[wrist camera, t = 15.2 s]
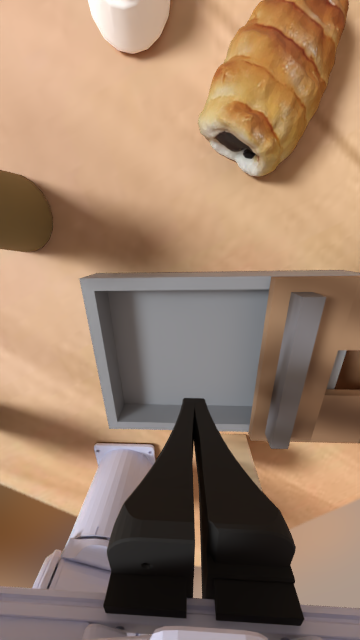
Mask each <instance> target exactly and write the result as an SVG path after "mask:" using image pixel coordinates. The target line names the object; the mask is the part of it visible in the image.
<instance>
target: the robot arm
mask: <svg viewBox="0 0 360 640" xmlns="http://www.w3.org/2000/svg"><path fill="white" fill-rule="evenodd" d="M193 444H194V446H195V455H196V464H197V473H198V483H199V505H200V535H201V569H202V599H199V598H193V578H194V552H195V529H194V499H193V468H192V459H193ZM94 451H95V455H96V459H97V463H98V469H97V471H96V473H95V476H94V478H93V481H92V483H91V486H90V488H89V491H88V493H87V496H86V498H85V500H84V503H83V505H82V508H81V510H80V513H79V515H78V518H77V520H76V522H75V525H74V528H73V530H72V532H71V535H70V537H69V539H68V541H67V543H66V545H65V547H64V550H63V552H62V554H61V551H60V550H55V551H54V552H53V554H51V555H49V556H48V557H47V558H46V559H45V561H44V563H43V565H42V568H41V570H40V572H39V574H38V576H37V579H36V580H35V583H34V585H33V587H32V588H20V587H4V586H0V640H360V608H346V607H328V606H313V605H300V603H299V600H298V597H297V593H296V590H295V587H294V584H293V583H295V579H294V575H293V572H292V569H291V566H290V564H291V561H292V558H293V555H294V553H295V544H294V541H293V538H292V535H291V533H290V531H289V528H288V526H287V524H286V522H285V520H284V518H283V516H282V514H281V512H280V510H279V509H278V508H277V507H276V506H275V505H274V504H273V503H272V502H271V501H270V500H269V499H268V497H267V496H266V495H265V494H264V493H263V492H262V491H261V490H260V489H259V487H258V486H257V485H256V484H255V483H254V482H253V480H252V479H251V478H250V477H249V475H248V474H247V473H246V472H245V470H244V469H243V468H242V467H241V465H240V464H239V463H238V461H237V460H236V458H235V457H234V456H233V454H232V453H231V451H230V450H229V448H228V446H227V445H226V443H225V442H224V440H223V438H222V436H221V435H220V433H219V431H218V429H217V427H216V425H215V423H214V421H213V419H212V417H211V415H210V413H209V410H208V408H207V405H206V402H205V399H204V398H184V399H183V401H182V406H181V410H180V413H179V416H178V418H177V421H176V424H175V426H174V428H173V430H172V432H171V435H170V437H169V439H168V441H167V443H166V444H165V446H164V448H163V450H162V452H161V453H160V455H159V456H158V458H157V460H155V449H154V446H153V445H150V444H113V443H96V444H95V446H94ZM60 554H61V556H60ZM149 634H152V635H149Z"/></svg>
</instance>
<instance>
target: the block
mask: <svg viewBox="0 0 360 640" xmlns="http://www.w3.org/2000/svg"><path fill="white" fill-rule="evenodd" d="M220 435H221V436H222V438H223V440H224V442H225V443H226V445H227V446H228V448H229V450H230V451H231V453H232V454H233V456H234V457H235V458H236V460H237V461H238V463H239V464H240V465H241V467H242V468H243V469H244V470H245V472H246V473H247V474H248V475H249V477H250V478H251V479H252V480H253V482H254V483H255V484H256V485H257V486H258V487H259V489H260V490H261V491H262V488H261V485H260V481H259V478H258V475H257V471H256V468H255V465H254V461H253V458H252V455H251V451H250V448H249V445H248V441H247V438H246V435H245V434H220ZM262 492H263V491H262Z"/></svg>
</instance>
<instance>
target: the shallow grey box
mask: <svg viewBox="0 0 360 640" xmlns="http://www.w3.org/2000/svg"><path fill="white" fill-rule="evenodd" d="M357 275H360V273H356V272H350V271H344V270H310V271H237V272H163V273H96V274H93V275H89V276H86V277H83V278H80V284H81V289H82V294H83V299H84V304H85V309H86V314H87V319H88V324H89V329H90V334H91V339H92V344H93V349H94V354H95V359H96V364H97V369H98V374H99V379H100V384H101V389H102V394H103V399H104V404H105V409H106V414H107V419H108V424H109V429H152V430H173V428H174V426H175V424H176V421H177V418H178V416H179V413H180V410H181V406H182V401H183V399H184V398H204V399H205V402H206V405H207V408H208V410H209V413H210V415H211V417H212V419H213V421H214V423H215V425H216V427H217V429H218V431H240V432H249V426H250V419H251V412H252V405H253V398H254V391H255V384H256V378H257V371H258V364H259V357H260V350H261V343H262V336H263V329H264V322H265V316H266V309H267V302H268V295H269V288H270V281H271V277H275V276H357ZM346 351H347V350H338V352H337V356H336V359H335V362H334V366H333V369H332V372H331V375H330V379H329V382H328V385H327V388H326V389H334V388H335V385H336V382H337V379H338V376H339V373H340V370H341V367H342V364H343V361H344V357H345V354H346Z"/></svg>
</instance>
